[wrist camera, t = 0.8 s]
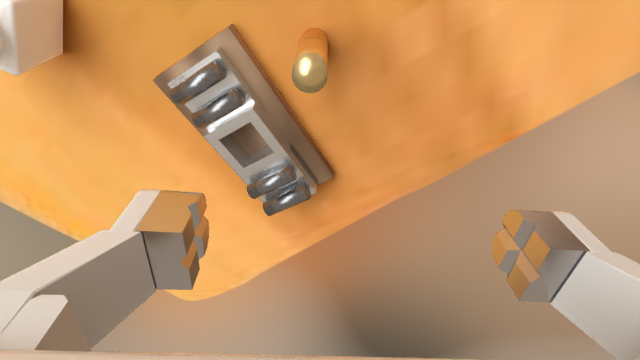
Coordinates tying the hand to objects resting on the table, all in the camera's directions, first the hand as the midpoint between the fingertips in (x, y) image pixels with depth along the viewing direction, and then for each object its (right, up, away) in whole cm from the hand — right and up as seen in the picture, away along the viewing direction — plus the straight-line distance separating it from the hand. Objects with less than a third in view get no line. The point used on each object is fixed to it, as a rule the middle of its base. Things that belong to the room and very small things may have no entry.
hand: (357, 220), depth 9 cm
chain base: (-9, +8, +34) cm, 36 cm away
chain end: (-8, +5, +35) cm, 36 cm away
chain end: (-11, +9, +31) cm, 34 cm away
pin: (-2, +16, +28) cm, 32 cm away
